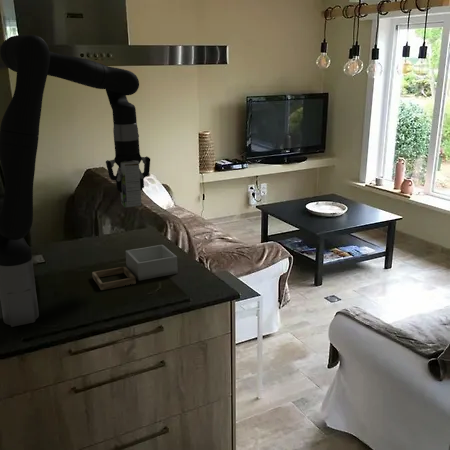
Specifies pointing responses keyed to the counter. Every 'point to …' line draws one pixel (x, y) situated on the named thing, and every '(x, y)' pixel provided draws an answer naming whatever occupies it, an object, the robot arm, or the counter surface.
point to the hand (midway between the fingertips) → (130, 190)
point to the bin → (151, 262)
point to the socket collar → (113, 284)
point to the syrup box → (130, 184)
